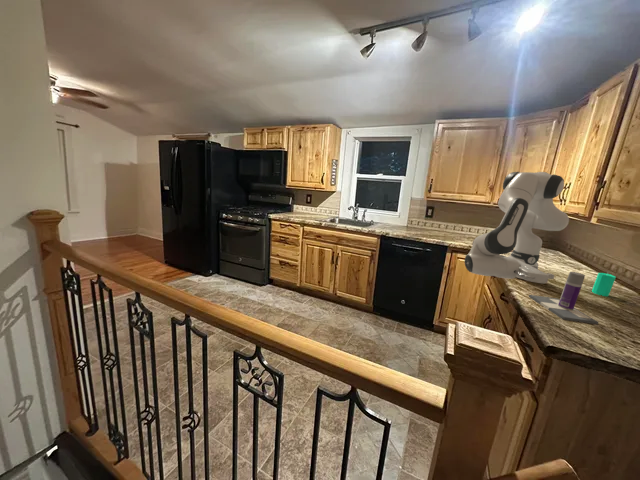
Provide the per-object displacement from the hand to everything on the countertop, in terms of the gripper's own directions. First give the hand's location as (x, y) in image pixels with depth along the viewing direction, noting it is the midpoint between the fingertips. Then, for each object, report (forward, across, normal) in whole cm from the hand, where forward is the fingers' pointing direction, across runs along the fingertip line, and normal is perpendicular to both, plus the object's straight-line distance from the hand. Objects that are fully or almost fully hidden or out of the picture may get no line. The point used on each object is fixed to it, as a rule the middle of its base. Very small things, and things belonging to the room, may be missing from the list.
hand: (544, 272), depth 103 cm
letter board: (+10, 0, +15) cm, 18 cm away
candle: (+49, +28, +16) cm, 59 cm away
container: (+12, 0, +14) cm, 18 cm away
